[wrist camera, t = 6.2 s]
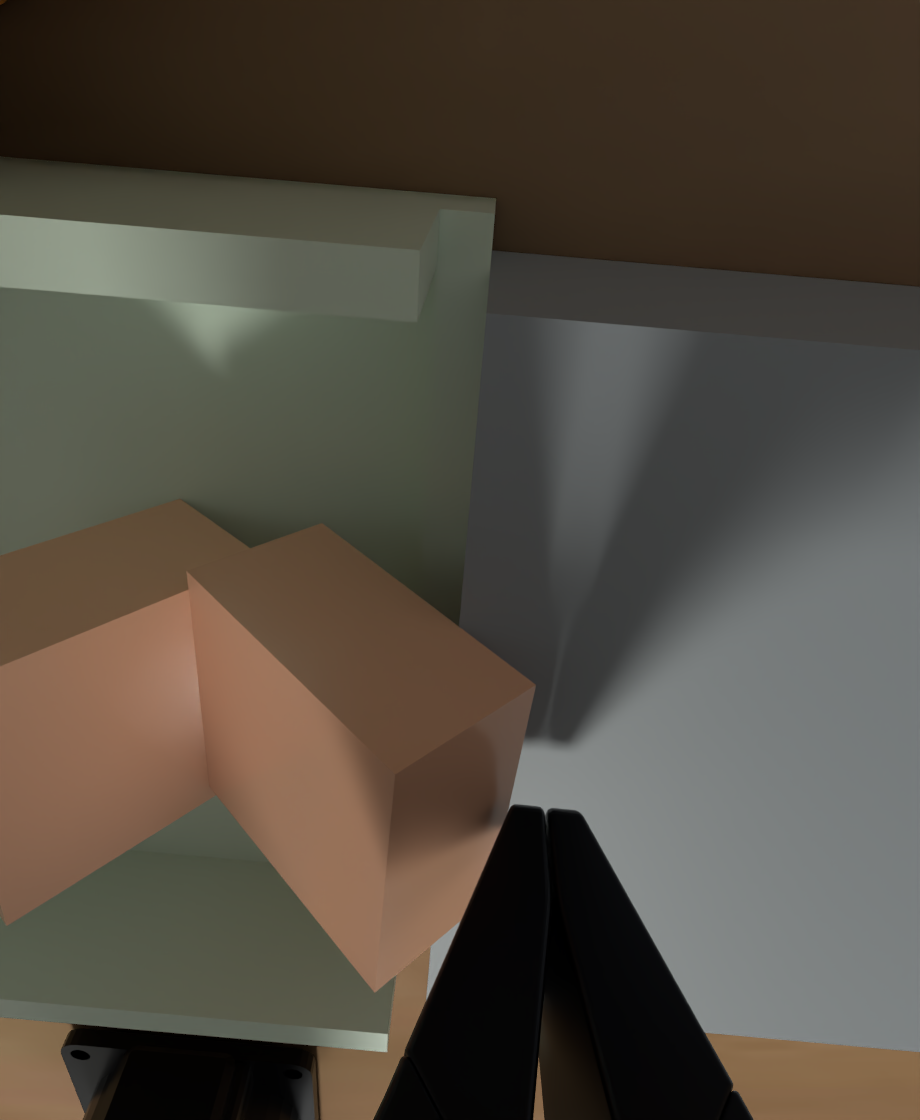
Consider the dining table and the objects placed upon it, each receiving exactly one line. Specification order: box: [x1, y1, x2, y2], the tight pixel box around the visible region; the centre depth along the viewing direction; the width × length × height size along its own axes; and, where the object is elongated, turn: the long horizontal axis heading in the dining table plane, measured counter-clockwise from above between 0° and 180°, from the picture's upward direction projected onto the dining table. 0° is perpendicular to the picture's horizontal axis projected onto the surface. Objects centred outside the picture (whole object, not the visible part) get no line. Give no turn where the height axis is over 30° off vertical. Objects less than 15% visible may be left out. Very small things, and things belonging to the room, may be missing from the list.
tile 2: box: [0, 499, 250, 926], centre depth 11 cm, size 4×4×2 cm
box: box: [0, 156, 496, 1052], centre depth 12 cm, size 13×11×4 cm
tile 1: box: [186, 523, 536, 993], centre depth 10 cm, size 4×4×2 cm
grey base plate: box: [426, 251, 920, 1052], centre depth 12 cm, size 12×14×3 cm
